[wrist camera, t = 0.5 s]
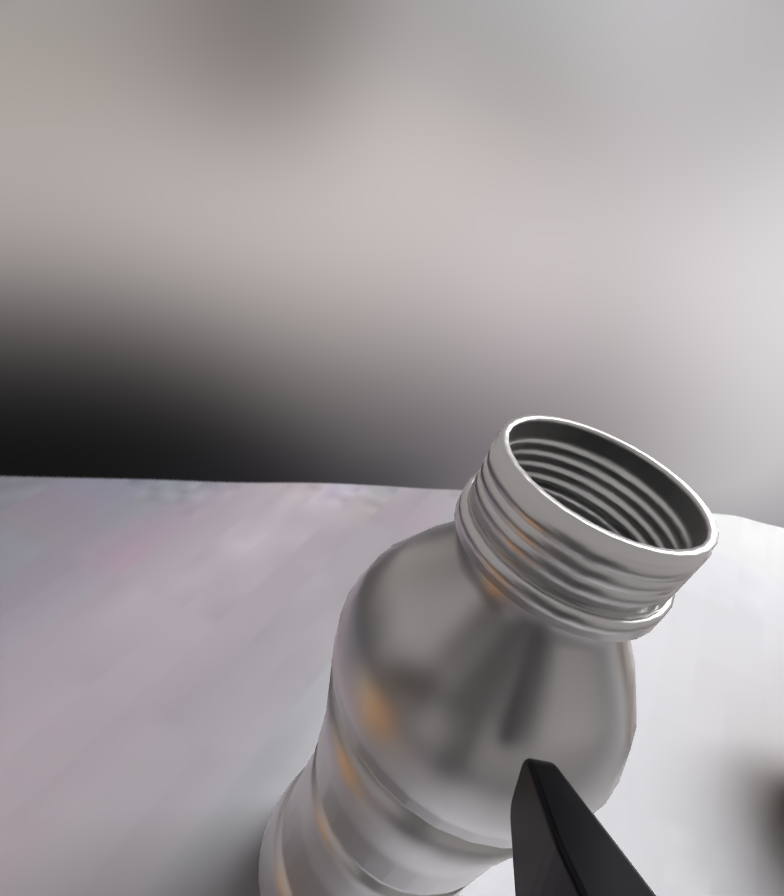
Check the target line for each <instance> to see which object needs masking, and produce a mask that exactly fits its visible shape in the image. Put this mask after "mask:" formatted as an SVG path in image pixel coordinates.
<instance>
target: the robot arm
mask: <svg viewBox="0 0 784 896" xmlns="http://www.w3.org/2000/svg"><path fill="white" fill-rule="evenodd" d="M510 823H511V837H512V851H513V865H514V880H515V894H516V896H656V895H655V894H654V892H653V891H652V890H651V889H650V887H649V886H648V885H647V883H646V882H645V881H644V879H643V878H642V877H641V875H640V874H639V873H638V872H637V870H636V869H635V868H634V866H633V865H632V864H631V862H630V861H629V860H628V858H627V857H626V856H625V855H624V853H623V852H622V851H621V849H620V848H619V847H618V845H617V844H616V843H615V841H614V840H613V839H612V838H611V836H610V835H609V834H608V832H607V831H606V830H605V828H604V827H603V826H602V824H601V823H600V822H599V821H598V819H597V818H596V817H595V815H594V814H593V813H592V811H591V810H590V809H589V807H588V806H587V805H586V804H585V802H584V801H583V800H582V798H581V797H580V796H579V794H578V793H577V792H576V790H575V789H574V788H573V786H572V785H571V784H570V783H569V781H568V780H567V779H566V777H565V776H564V775H563V773H562V772H561V771H560V769H559V768H558V767H557V766H556V765H555V764H554V763H552V762H548V761H543V760H538V759H532V758H528V759H525V761H524V762H523V764H522V767H521V770H520V773H519V777H518V780H517V784H516V787H515V790H514V794H513V797H512V801H511V809H510Z"/></svg>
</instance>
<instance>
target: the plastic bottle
mask: <svg viewBox="0 0 784 896" xmlns="http://www.w3.org/2000/svg"><path fill="white" fill-rule="evenodd" d="M454 518H455V521H452V522H448V523H444V524H441V525H437V526H434V527H432V528H430V529H428V530H425V531H423V532H421V533H419V534H416V535H414V536H412V537H409V538H407V539H405V540H403V541H400V542H398V543H396V544H394V545H392V546H391V547H390V548H389V549H387V550H386V551H385V552H384V553H382V554H381V555H380V556H379V557H378V558H377V559H376V560H375V561H374V562H373V563H372V565H371V566H370V567H369V568H368V569H367V570H366V571H365V572H364V573H363V574H362V575H361V577H360V578H359V579H358V581H357V582H356V584H355V585H354V586H353V588H352V589H351V590H350V592H349V593H348V596H347V599H346V601H345V604H344V606H343V609H342V611H341V614H340V619H339V624H338V628H337V632H336V636H335V641H334V648H333V655H332V666H331V674H330V683H329V691H328V700H327V709H326V714H325V717H324V721H323V724H322V728H321V731H320V735H319V739H318V743H317V746H316V749H315V752H314V753H313V755H312V757H311V759H310V760H309V762H308V764H307V765H306V767H305V768H303V769H302V771H301V772H300V773H299V774H298V775H297V776H296V777H295V779H294V780H293V781H292V782H291V783H290V785H289V786H288V787H287V789H286V790H285V792H284V793H283V795H282V796H281V798H280V799H279V801H278V803H277V804H276V806H275V808H274V809H273V811H272V813H271V815H270V818H269V821H268V823H267V826H266V829H265V831H264V835H263V840H262V845H261V850H260V855H259V877H258V881H259V889H260V896H458V895H459V894H460V892H461V891H462V889H463V888H464V887H466V886H467V885H468V884H470V883H471V882H472V881H474V880H475V879H476V878H477V877H479V876H480V875H481V874H483V873H484V872H485V871H487V870H488V869H489V868H490V867H492V866H494V865H497V864H499V863H501V862H503V861H505V860H508V859H510V858H512V857H513V851H512V837H511V823H510V809H511V801H512V797H513V794H514V790H515V787H516V784H517V780H518V777H519V773H520V770H521V767H522V764H523V762H524V761H525V759H528V758H532V759H538V760H543V761H548V762H552V763H554V764H555V765H556V766H557V767H558V768H559V769H560V771H561V772H562V773H563V775H564V776H565V777H566V779H567V780H568V781H569V783H570V784H571V785H572V786H573V788H574V789H575V790H576V792H577V793H578V794H579V796H580V797H581V798H582V800H583V801H584V802H585V804H586V805H587V806H588V807H589V809H590V810H591V811H592V813H595V812H596V811H597V810H598V809H600V808H601V807H602V806H603V805H604V804H605V803H606V802H607V800H608V799H609V797H610V795H611V794H612V792H613V791H614V789H615V787H616V786H617V784H618V783H619V780H620V777H621V774H622V772H623V769H624V766H625V763H626V760H627V757H628V755H629V752H630V749H631V745H632V741H633V738H634V734H635V730H636V680H635V662H634V656H633V651H632V646H631V640H634V639H638V638H639V637H641V636H643V635H645V634H647V633H649V632H650V631H651V630H652V629H653V628H654V627H655V626H656V625H657V624H658V623H659V621H660V620H661V619H662V618H663V617H664V616H665V615H666V614H667V612H668V611H669V610H670V609H671V608H672V605H673V601H674V597H675V593H676V592H677V591H678V590H679V589H680V588H681V587H682V586H683V585H684V584H685V583H686V581H687V580H688V579H689V578H690V577H691V576H692V575H693V574H694V573H695V572H696V571H697V570H698V569H699V568H700V567H701V566H702V565H703V564H704V562H705V561H706V560H707V559H708V558H709V556H710V555H711V553H712V549H713V548H714V547H715V546H716V544H717V543H718V536H719V532H718V528H717V524H716V521H715V519H714V517H713V516H712V514H711V512H710V511H709V509H708V507H707V506H706V505H705V504H704V502H703V501H702V500H701V499H700V498H699V496H698V495H697V494H696V493H695V492H694V491H693V490H692V489H691V488H690V487H689V486H688V485H687V484H686V483H685V482H684V481H682V480H681V479H680V478H679V477H678V476H676V475H675V474H674V473H673V472H672V471H671V470H669V469H668V468H666V467H665V466H663V465H662V464H661V463H659V462H658V461H656V460H655V459H654V458H652V457H651V456H649V455H647V454H646V453H644V452H642V451H641V450H639V449H637V448H636V447H634V446H632V445H630V444H628V443H626V442H625V441H623V440H620V439H618V438H616V437H614V436H612V435H610V434H608V433H606V432H603V431H601V430H599V429H596V428H593V427H591V426H588V425H585V424H583V423H579V422H576V421H572V420H569V419H565V418H560V417H555V416H549V415H539V414H534V415H522V416H518V417H515V418H513V419H511V420H509V421H508V422H506V423H505V425H504V427H503V429H502V430H501V431H499V432H498V434H497V436H496V438H495V440H494V441H493V443H492V445H491V448H490V450H489V452H488V454H487V456H486V458H485V460H484V462H483V464H482V466H481V468H480V470H479V471H478V472H477V473H476V474H475V475H473V476H472V477H471V478H470V479H469V480H468V482H467V484H466V485H465V487H464V489H463V491H462V493H461V495H460V497H459V499H458V501H457V503H456V508H455V514H454Z"/></svg>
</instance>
